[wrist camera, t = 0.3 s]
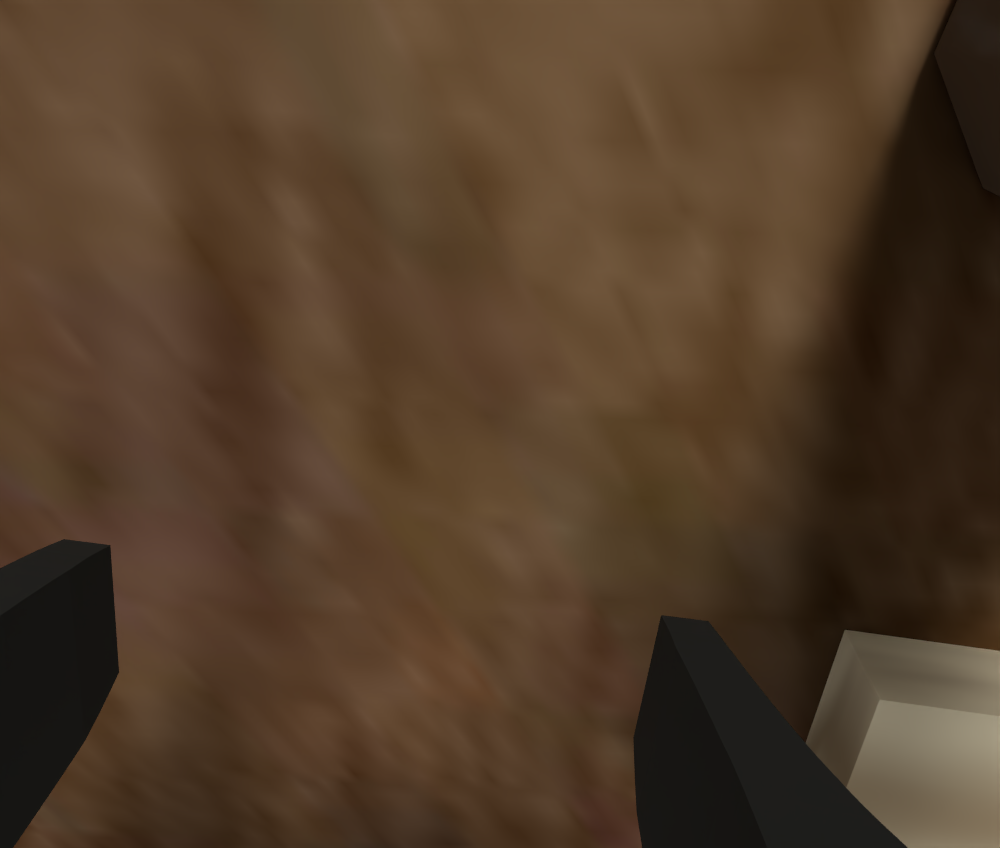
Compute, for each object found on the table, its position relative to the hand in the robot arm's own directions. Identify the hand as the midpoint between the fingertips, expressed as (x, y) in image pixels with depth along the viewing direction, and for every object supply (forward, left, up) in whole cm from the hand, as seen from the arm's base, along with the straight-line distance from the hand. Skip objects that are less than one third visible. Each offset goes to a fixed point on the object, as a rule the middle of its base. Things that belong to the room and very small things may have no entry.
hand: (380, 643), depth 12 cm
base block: (-9, -14, -10) cm, 20 cm away
